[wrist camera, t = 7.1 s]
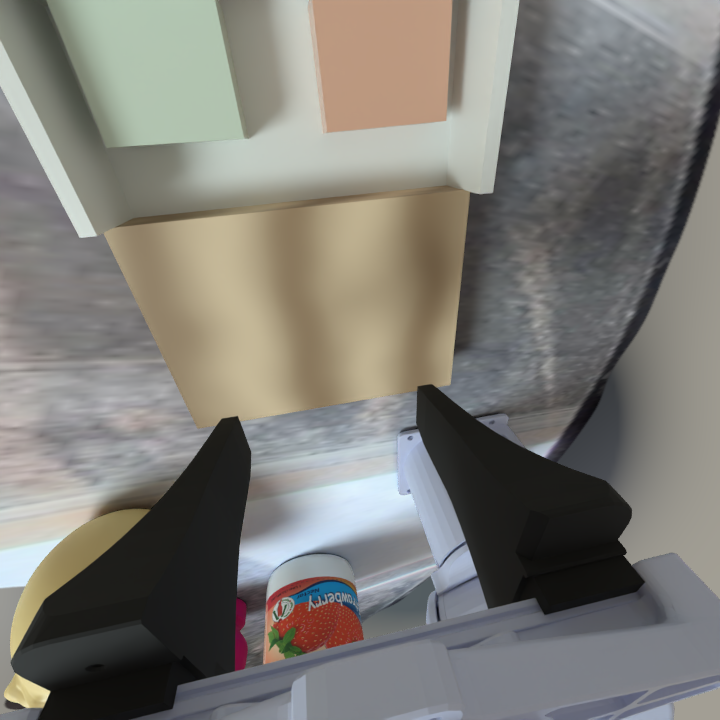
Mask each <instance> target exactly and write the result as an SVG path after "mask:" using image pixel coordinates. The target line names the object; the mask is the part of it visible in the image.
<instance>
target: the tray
mask: <svg viewBox="0 0 720 720" xmlns="http://www.w3.org/2000/svg"><path fill="white" fill-rule="evenodd" d="M218 1H219V3H220V5H221V7H222V9H223V13H224V18H225V23H226V28H227V33H228V38H229V43H230V47H231V52H232V57H233V62H234V67H235V72H236V77H237V82H238V87H239V92H240V97H241V101H242V106H243V111H244V116H245V121H246V126H247V131H248V136H249V139H241V140H226V141H212V142H197V143H182V144H168V145H153V146H139V147H118V148H106V145H105V143H104V140H103V138H102V135H101V133H100V131H99V128H98V126H97V123H96V121H95V118H94V116H93V113H92V111H91V109H90V106H89V104H88V101H87V99H86V96H85V94H84V91H83V89H82V86H81V84H80V82H79V79H78V77H77V74H76V72H75V69H74V67H73V64H72V62H71V59H70V57H69V55H68V52H67V50H66V47H65V45H64V42H63V40H62V37H61V35H60V33H59V30H58V28H57V25H56V23H55V20H54V18H53V15H52V13H51V10H50V8H49V6H48V3H47V1H46V0H0V86H1V88H2V90H3V92H4V94H5V96H6V98H7V100H8V101H9V103H10V105H11V107H12V109H13V111H14V113H15V115H16V117H17V119H18V121H19V122H20V124H21V126H22V128H23V130H24V132H25V134H26V136H27V138H28V140H29V142H30V143H31V145H32V147H33V149H34V151H35V153H36V155H37V157H38V159H39V161H40V163H41V164H42V166H43V168H44V170H45V172H46V174H47V176H48V178H49V180H50V182H51V184H52V185H53V187H54V189H55V191H56V193H57V195H58V197H59V199H60V201H61V203H62V205H63V206H64V208H65V210H66V212H67V214H68V216H69V218H70V220H71V222H72V224H73V226H74V227H75V229H76V231H77V233H78V235H79V237H80V238H83V237H92V236H98V235H100V234H102V233H104V232H106V231H108V230H110V229H112V228H114V227H117V226H119V225H121V224H123V223H125V222H127V221H129V220H131V219H133V218H139V217H148V216H158V215H168V214H177V213H187V212H196V211H206V210H215V209H225V208H235V207H244V206H254V205H263V204H273V203H282V202H292V201H302V200H311V199H321V198H330V197H340V196H349V195H359V194H368V193H378V192H388V191H397V190H407V189H416V188H426V187H435V186H445V185H447V186H451V187H454V188H458V189H462V190H466V191H469V192H473V193H477V194H487V193H493V189H494V182H495V175H496V167H497V160H498V153H499V146H500V138H501V131H502V124H503V116H504V109H505V102H506V95H507V87H508V80H509V73H510V66H511V58H512V51H513V44H514V37H515V29H516V22H517V15H518V8H519V0H452V20H451V39H450V59H449V78H448V98H447V117H446V121H442V122H435V123H427V124H416V125H406V126H396V127H386V128H376V129H365V130H355V131H345V132H335V133H325V134H323V130H322V122H321V114H320V105H319V97H318V89H317V80H316V72H315V64H314V55H313V47H312V39H311V31H310V22H309V14H308V2H309V0H218Z"/></svg>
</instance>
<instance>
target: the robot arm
mask: <svg viewBox="0 0 720 720" xmlns="http://www.w3.org/2000/svg"><path fill="white" fill-rule="evenodd" d="M508 420H509V417H508V416H507V415H506V414H505V413H501V414H496V415H491V416H485V417H480V418H474V417H473V416H471V415H470V414H469V413H467V412H466V411H465V410H463V409H462V408H461V407H460V406H458V405H457V404H456V403H454V402H453V401H452V400H451V399H450V398H448V397H447V396H446V395H445V394H444V393H442V392H441V391H440V390H439V389H438V388H436V387H435V386H434V385H433V384H428V385H422V386H417V416H416V424H417V427H418V429H416V430H410V431H405V432H401V433H400V434H399V435H398V437H397V447H398V492H399V494H400V495H407V494H412V497H413V500H414V503H415V505H416V508H417V511H418V514H419V517H420V520H421V523H422V525H423V528H424V531H425V534H426V537H427V540H428V543H429V545H430V548H431V551H432V554H433V557H434V560H435V563H436V565H437V568H438V570H436V571H435V572H433V573H432V574H431V577H432V580H433V583H434V586H435V589H436V591H434V592H432V593H431V594H430V596H429V598H428V605H427V615H426V622H427V624H426V625H422V626H418V627H414V628H410V629H406V630H402V631H397V632H394V633H389V634H386V635H381V636H377V637H373V638H369V639H365V640H361V641H357V642H353V643H349V644H344V645H340V646H336V647H332V648H328V649H324V650H320V651H316V652H312V653H308V654H304V655H300V656H296V657H291V658H287V659H283V660H279V661H275V662H271V663H267V664H263V665H259V666H255V667H251V668H247V669H243V670H238V671H235V630H236V597H237V576H238V560H239V545H240V537H241V530H242V524H243V518H244V512H245V506H246V500H247V494H248V488H249V482H250V472H251V450H250V448H249V445H248V442H247V439H246V437H245V434H244V431H243V429H242V426H241V423H240V420H239V418H238V416H234V417H228V418H222V419H221V420H220V421H219V423H218V424H217V426H216V427H215V429H214V430H213V432H212V433H211V435H210V436H209V438H208V439H207V440H206V442H205V443H204V445H203V446H202V448H201V449H200V450H199V452H198V453H197V455H196V456H195V457H194V459H193V460H192V461H191V463H190V464H189V465H188V467H187V468H186V469H185V471H184V472H183V473H182V474H181V476H180V477H179V478H178V479H177V481H176V482H175V483H174V484H173V486H172V487H171V488H170V489H169V490H168V491H167V493H166V494H165V495H164V496H163V497H162V498H161V499H160V500H159V501H158V502H157V503H156V505H155V506H154V507H153V508H152V509H151V510H150V511H149V512H148V513H147V514H146V515H145V516H144V517H143V518H142V519H141V520H140V521H139V522H137V523H136V524H135V525H134V526H133V527H132V528H131V529H130V530H129V531H128V532H127V533H126V534H125V535H124V536H123V537H122V538H121V539H119V540H118V541H117V542H116V543H115V544H114V545H113V546H111V547H110V548H109V549H108V550H107V551H106V552H104V553H103V554H102V555H101V556H100V557H98V558H97V559H96V560H95V561H94V562H92V563H91V564H90V565H89V566H87V567H86V568H85V569H84V570H82V571H81V572H80V573H78V574H77V575H76V576H75V577H73V578H72V579H71V580H69V581H68V582H67V583H65V584H64V585H63V586H61V587H60V588H59V589H57V590H56V591H55V592H54V593H52V594H51V595H49V596H48V597H47V598H45V599H44V601H43V603H42V604H41V606H40V608H39V610H38V611H37V613H36V615H35V617H34V619H33V620H32V622H31V624H30V626H29V628H28V630H27V631H26V633H25V635H24V637H23V639H22V641H21V643H20V644H19V646H18V648H17V650H16V652H15V654H14V655H13V658H12V660H11V665H12V667H13V670H14V672H15V673H16V674H18V675H19V676H21V677H22V678H24V679H26V680H28V681H30V682H32V683H34V684H37V685H39V686H41V687H43V688H45V689H47V690H49V691H51V692H50V694H49V696H48V698H47V701H46V703H45V705H44V707H43V708H26V709H21V710H17V711H13V712H9V713H5V714H1V715H0V720H673V719H674V710H675V708H674V704H673V702H676V701H679V700H682V699H686V698H689V697H692V696H695V695H699V694H702V693H705V692H709V691H712V690H715V689H718V688H720V599H719V598H718V597H717V596H716V595H715V594H714V593H713V592H712V591H711V590H710V589H709V588H708V586H707V585H706V584H704V582H703V581H702V580H701V579H700V578H699V577H698V576H697V575H696V574H695V573H694V572H693V571H692V570H691V569H690V568H689V566H688V565H687V564H685V562H684V561H683V560H682V559H681V558H680V557H679V556H678V555H677V554H675V553H669V554H665V555H660V556H656V557H652V558H648V559H644V560H641V561H638V562H637V563H635V564H633V565H632V566H631V564H630V563H629V562H628V561H627V559H626V558H625V557H624V556H623V555H625V554H626V553H627V552H626V549H625V548H624V547H623V545H622V544H621V543H620V542H619V541H618V538H619V537H620V535H621V534H622V533H623V531H624V530H625V528H626V526H627V525H628V524H629V521H630V519H631V516H632V509H631V507H630V506H629V505H628V504H627V502H625V500H624V499H623V498H622V497H621V496H620V495H619V494H618V493H617V492H616V491H615V490H614V489H613V488H612V487H611V485H609V484H608V483H607V482H606V481H604V480H602V479H599V478H596V477H593V476H590V475H587V474H585V473H582V472H579V471H576V470H573V469H570V468H568V467H565V466H563V465H560V464H558V463H556V462H553V461H551V460H549V459H546V458H544V457H542V456H540V455H537V454H535V453H533V452H531V451H529V450H527V449H526V448H525V447H524V445H523V444H522V443H521V441H520V440H519V439H518V438H517V436H516V435H515V434H514V432H513V431H512V430H511V429H510V427H509V426H508V425H507V424H508ZM409 436H410V437H409Z"/></svg>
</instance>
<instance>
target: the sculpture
mask: <svg viewBox="0 0 720 720" xmlns="http://www.w3.org/2000/svg"><path fill="white" fill-rule="evenodd" d="M149 511H150V509H126V510H120V511H116V512H112V513H109V514H106V515H103V516H100V517H98V518H96V519H94V520H91V521H89V522H88V523H86V524H84V525H82V526H81V527H79V528H78V529H76V530H75V531H73V532H72V533H71V534H69V535H68V536H67V537H66V538H64V539H63V540H62V541H61V542H60V543H59V544H58V545H57V546H56V547H55V548H54V549H53V550H52V551H51V552H50V553H49V554H48V555H47V556H46V557H45V558H44V560H43V561H42V562H41V563H40V565H39V566H38V567H37V569H36V570H35V572H34V573H33V575H32V576H31V578H30V579H29V581H28V583H27V585H26V587H25V589H24V591H23V593H22V595H21V597H20V600H19V602H18V605H17V608H16V611H15V615H14V618H13V623H12V629H11V638H10V648H11V658H13V655H14V654H15V652H16V650H17V648H18V646H19V644H20V643H21V641H22V639H23V637H24V635H25V633H26V631H27V630H28V628H29V626H30V624H31V622H32V620H33V619H34V617H35V615H36V613H37V611H38V610H39V608H40V606H41V604H42V603H43V601H44V599H45V598H47V597H48V596H49V595H51V594H52V593H54V592H55V591H56V590H57V589H59V588H60V587H61V586H63V585H64V584H65V583H67V582H68V581H69V580H71V579H72V578H73V577H75V576H76V575H77V574H78V573H80V572H81V571H82V570H84V569H85V568H86V567H87V566H89V565H90V564H91V563H92V562H94V561H95V560H96V559H97V558H98V557H100V556H101V555H102V554H103V553H104V552H106V551H107V550H108V549H109V548H110V547H111V546H113V545H114V544H115V543H116V542H117V541H118V540H119V539H121V538H122V537H123V536H124V535H125V534H126V533H127V532H128V531H129V530H130V529H131V528H132V527H133V526H134V525H135V524H136V523H137V522H139V521H140V520H141V519H142V518H143V517H144V516H145V515H146V514H147V513H148V512H149ZM50 692H51V691H49V690H47V689H45V688H43V687H41V686H39V685H37V684H34V683H32V682H30V681H28V680H26V679H24V678H22V677H21V676H19V675H18V674H16V673H15V675H14V677H13V679H12V681H11V683H10V684H9V685H8V686H7V688H6V690H5V692H4V696H5V698H6V699H8V700H9V701H12V702H16V703H20V704H21V705H22V706H24V707H26V708H43V707H44V705H45V703H46V701H47V698H48V696H49V694H50Z"/></svg>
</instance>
